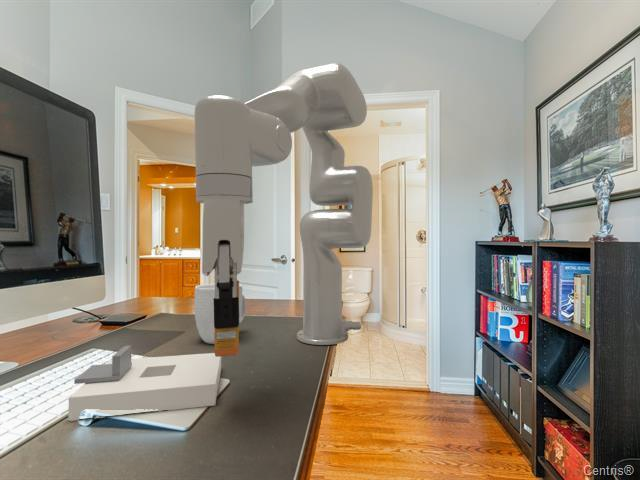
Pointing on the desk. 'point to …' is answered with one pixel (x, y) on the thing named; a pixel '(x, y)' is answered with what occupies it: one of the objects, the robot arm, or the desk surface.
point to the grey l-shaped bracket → (108, 368)
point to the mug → (211, 310)
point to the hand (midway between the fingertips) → (227, 322)
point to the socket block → (154, 386)
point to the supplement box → (227, 338)
